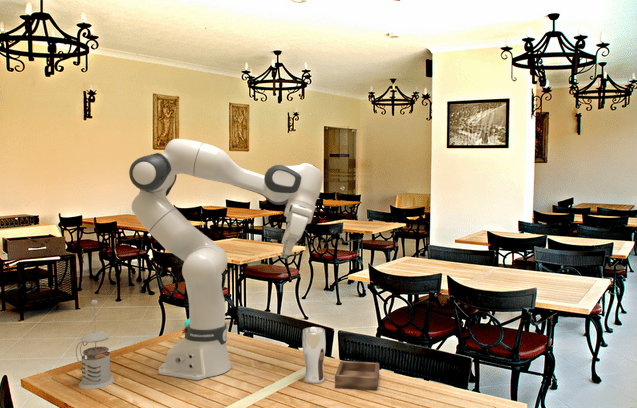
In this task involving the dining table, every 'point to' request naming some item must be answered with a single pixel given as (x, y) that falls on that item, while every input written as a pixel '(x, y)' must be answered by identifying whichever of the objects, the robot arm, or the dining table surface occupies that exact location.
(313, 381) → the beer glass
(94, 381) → the french press
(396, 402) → the dining table surface
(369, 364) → the walnut tray
